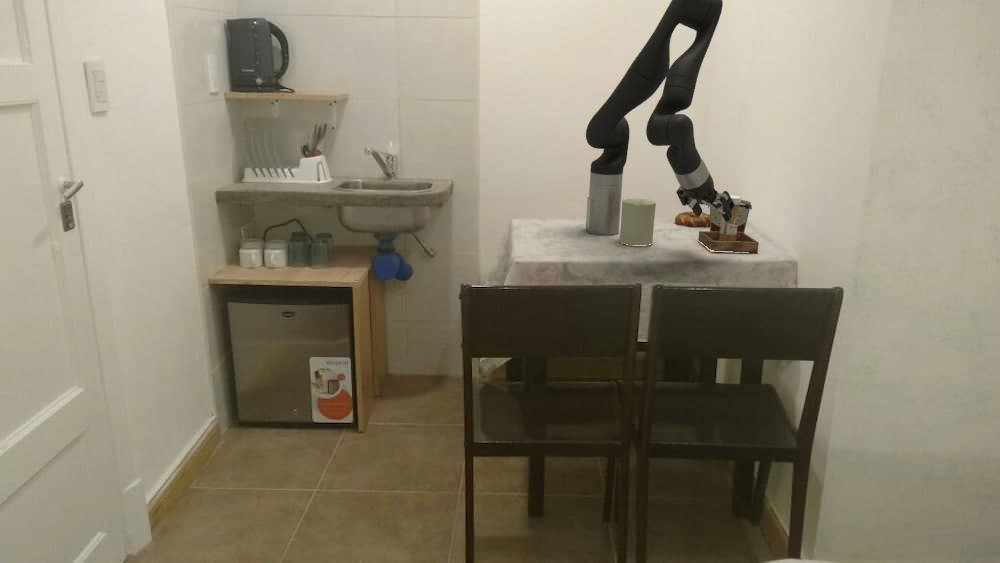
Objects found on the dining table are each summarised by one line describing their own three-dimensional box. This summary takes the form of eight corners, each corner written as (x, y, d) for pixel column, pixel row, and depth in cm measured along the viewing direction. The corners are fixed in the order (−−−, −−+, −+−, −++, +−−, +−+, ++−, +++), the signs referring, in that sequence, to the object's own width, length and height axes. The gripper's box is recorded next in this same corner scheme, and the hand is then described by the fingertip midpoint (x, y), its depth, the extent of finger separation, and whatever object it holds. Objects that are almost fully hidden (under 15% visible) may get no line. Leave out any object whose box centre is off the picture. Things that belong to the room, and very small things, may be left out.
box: (711, 252, 192) (712, 241, 191) (698, 241, 204) (699, 231, 203) (757, 253, 192) (758, 242, 191) (741, 242, 204) (742, 231, 203)
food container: (744, 232, 217) (748, 198, 214) (748, 236, 211) (752, 202, 208) (701, 230, 218) (705, 197, 215) (705, 235, 212) (708, 201, 209)
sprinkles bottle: (733, 248, 195) (739, 198, 191) (716, 245, 197) (721, 196, 193) (737, 244, 199) (743, 195, 195) (720, 242, 201) (725, 194, 197)
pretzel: (679, 228, 221) (680, 216, 220) (670, 221, 231) (671, 209, 230) (718, 229, 221) (719, 217, 220) (707, 221, 232) (708, 210, 230)
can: (625, 247, 196) (628, 203, 192) (614, 239, 205) (617, 196, 201) (658, 246, 197) (661, 202, 194) (645, 238, 206) (649, 196, 203)
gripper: (726, 167, 175) (745, 209, 186) (675, 161, 185) (696, 201, 196) (711, 192, 173) (732, 232, 184) (661, 184, 183) (683, 223, 194)
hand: (713, 216), depth 190 cm, fingers open, 8 cm apart
